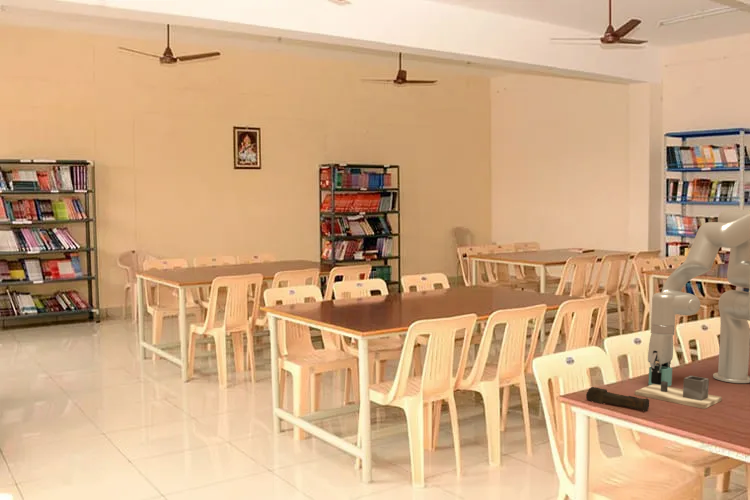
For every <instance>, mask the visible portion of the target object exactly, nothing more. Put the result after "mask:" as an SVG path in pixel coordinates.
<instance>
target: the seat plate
mask: <svg viewBox="0 0 750 500" xmlns="http://www.w3.org/2000/svg"><path fill="white" fill-rule="evenodd" d="M682 384H683V387H682V388H677V387H672V386H668V382H666V381H661V385H657V384H652V385H648V386H644V387H642V388H640V389H637V390H634V395H636V396H640V397H645V398H648V399H649V398H650V399H654V400H659V401H665V402H669V403H673V404H674V403H675V404H677V405H679V404H680V405H684V406H688V407H693V408H698V409H703V410H705V409H708V408H710V407H712V406H714V405H716V404H717V403H720V402H722V400H723V399H722V398H723V397H722V396H720V395H719V396H718V395H714V394H709V388H710V387H709V386H710V385H709V384H710V378H707V377H702V376H701V377H700V376H696V375H689V376H686V377H683V383H682Z"/></svg>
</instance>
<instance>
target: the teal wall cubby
mask: <svg viewBox="0 0 750 500" xmlns="http://www.w3.org/2000/svg"><path fill="white" fill-rule="evenodd" d="M658 366H659V365H657V367H658ZM660 373H662V374H661V381H666V382H668V387H672V385H673V384H672V382H673V367H671V366H670V367H665V366H661V372H660ZM651 375H652V372H651V366H649V368H648V386H649V385H652V384H653V383H651ZM657 385H659V384H657ZM660 385H661V384H660Z"/></svg>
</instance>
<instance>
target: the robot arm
mask: <svg viewBox="0 0 750 500" xmlns="http://www.w3.org/2000/svg"><path fill="white" fill-rule="evenodd" d="M720 248H725V249H729V250H730V251H729V258H728V263H727V264H728V266H727V275H726V277H727V281H728V282H729V283H730V284H731V285H732V286H734V287H740V288H744V289H748V291H744V290H737V289H729V290H727V291H725V292H723V293H721V295H720V296H719V299H718V312H719V318H720V330H719V346H718V347H719V349H718V368H717V372H714V373H713V374H712V377H713V379H715V380H717V381H721V382H727V383H733V384H749V383H750V375H748V374H749V362H750V361H749V360H750V359H749V358H750V323H749V321H750V209H725V210H723V211H721V212H720V213H719V215H718V217H717V221H708V222H705V223H702V224H701V225H700V226H699V228H698V230H697V232H696V235H695V237H694V239H693V242H692V245H691V247H690V249H689V251H688V254H687V257H686V258H685V260H684V261H683V263H681V264H680V265H679V266H677V267H676V268H675V269H674V270H673V271H672V272H671V273H670V274H669V276H668V277H667V278H666V280H665V282H664V284H663V286H662V289H661V292H656V293H654V294H653V295H652V299H651V314H650V315H651V317H650V318H651V319H650V338H649V343H648V350H647V351H648V352H647V362H648V363H649V367H651V372H652V375H651V383H653V384H659V385H660V384H661V374H662V373H660V372H661V366H665V367H671V363H672V360H673V358H674V357H673V356H674V336H675V329H676V328H675V326H676V325H675V324H676V315H681V316H692V315H695V314H696V313H698V312H699V310H700V309H701V301H700V298H699V297H698V296H696V295H694V294H692V293H689V292H684V291H682V290H683V288H684V287H685V285H687V283H688V282H690V281H691V280H692V279H695V278H697V277H699V276H701V275H705V274H706V273H708V272H710V271H711V269H712V268H713V264H714V263H715V260H716V258H717V255H718V252H719V250H720ZM657 365H659V366H658V367H657Z"/></svg>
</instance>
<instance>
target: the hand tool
mask: <svg viewBox="0 0 750 500" xmlns="http://www.w3.org/2000/svg"><path fill="white" fill-rule="evenodd" d="M585 397H586V400H587V401H590V402H592V401H593V403H596V404H597V403H598V404H601V403H602V404H601V405H603V403H605V404H610V405H615V406H620V407H621V406H622V407H625V408H630V409H634V410H640V411H643V413H646V412H648V410H649V409H650V400H649V398H648V397H645V398H642V397H641V398H640V397H637V396H631V395H625V394H619V393H614V392H610V391H609V392H608V390H607V389H605V388H599V387H595V386H591V387H590V388H588V389H587V392H586V396H585Z"/></svg>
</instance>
